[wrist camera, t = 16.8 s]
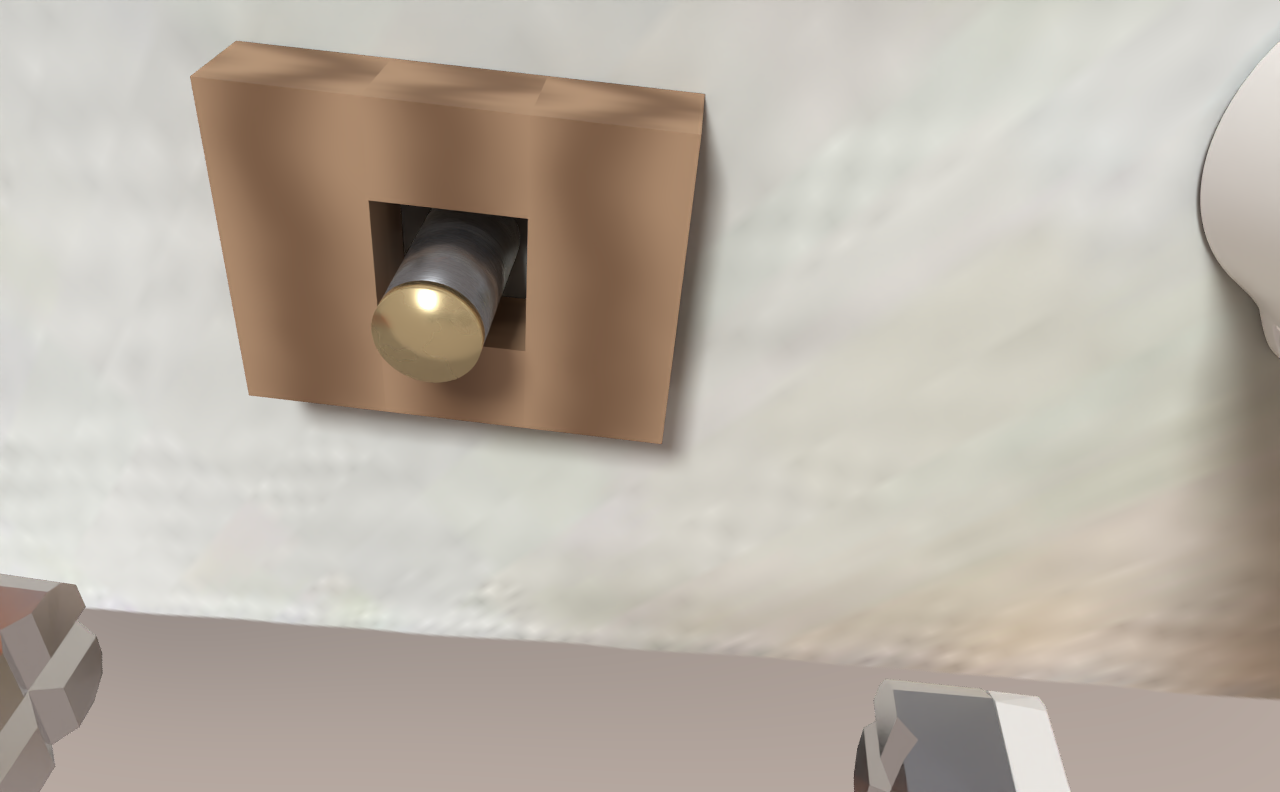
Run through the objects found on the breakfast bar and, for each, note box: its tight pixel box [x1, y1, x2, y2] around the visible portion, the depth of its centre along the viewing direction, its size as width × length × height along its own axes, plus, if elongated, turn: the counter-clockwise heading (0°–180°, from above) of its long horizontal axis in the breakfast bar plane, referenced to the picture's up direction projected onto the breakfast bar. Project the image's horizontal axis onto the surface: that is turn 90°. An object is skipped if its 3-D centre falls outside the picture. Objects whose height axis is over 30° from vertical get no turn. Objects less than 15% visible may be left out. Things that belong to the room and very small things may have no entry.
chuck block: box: [190, 41, 705, 444], centre depth 41 cm, size 18×14×4 cm
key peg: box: [371, 208, 520, 383], centre depth 39 cm, size 4×4×8 cm
